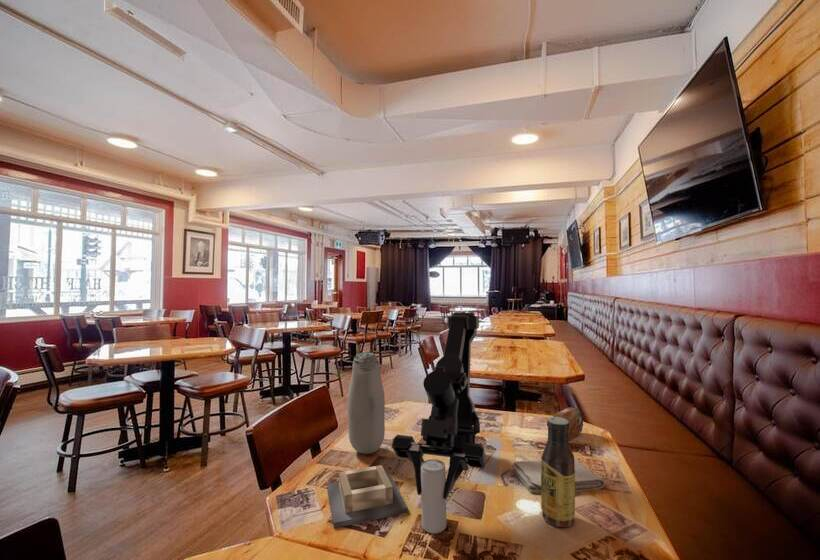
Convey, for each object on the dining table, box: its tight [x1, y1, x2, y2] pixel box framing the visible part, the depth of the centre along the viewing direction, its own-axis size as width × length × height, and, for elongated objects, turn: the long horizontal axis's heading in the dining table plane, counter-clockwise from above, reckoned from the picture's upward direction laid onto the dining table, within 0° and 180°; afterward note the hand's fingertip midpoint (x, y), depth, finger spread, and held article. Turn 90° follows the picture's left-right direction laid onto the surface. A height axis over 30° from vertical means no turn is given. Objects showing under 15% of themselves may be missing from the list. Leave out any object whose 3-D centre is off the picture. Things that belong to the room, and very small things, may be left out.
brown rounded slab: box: [552, 406, 584, 442], centre depth 113 cm, size 15×3×8 cm, turn 129°
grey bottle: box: [347, 351, 386, 455], centre depth 106 cm, size 10×10×28 cm
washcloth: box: [512, 458, 606, 495], centre depth 90 cm, size 12×18×3 cm, turn 99°
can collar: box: [326, 465, 409, 529], centre depth 82 cm, size 15×15×4 cm
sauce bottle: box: [540, 416, 576, 528], centre depth 74 cm, size 7×6×20 cm
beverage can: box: [420, 458, 447, 535], centre depth 72 cm, size 5×5×12 cm
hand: (431, 496), depth 71 cm, fingers closed on beverage can, 5 cm apart
